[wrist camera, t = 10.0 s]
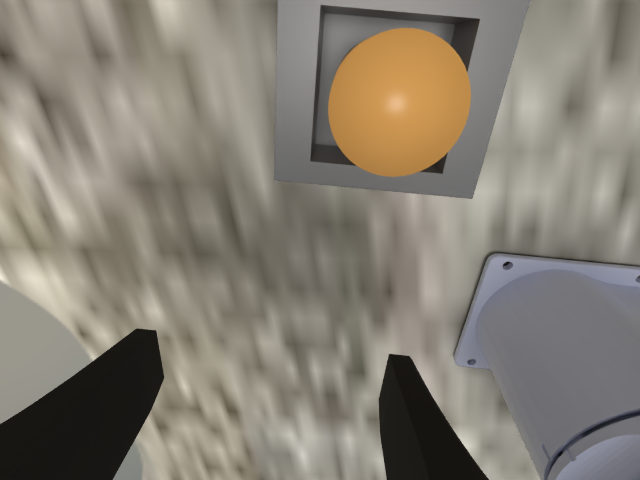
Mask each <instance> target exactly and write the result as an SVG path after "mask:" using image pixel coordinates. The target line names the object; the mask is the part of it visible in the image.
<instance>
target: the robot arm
mask: <svg viewBox="0 0 640 480" xmlns="http://www.w3.org/2000/svg"><path fill="white" fill-rule="evenodd" d="M509 261H510V263H509V264H508V265H506V266H503V264H504V263H505V262H509ZM638 276H640V267H635V266H624V265H614V264H604V263H593V262H583V261H573V260H562V259H552V258H541V257H531V256H521V255H510V254H500V253H497V254H493V255H491V256H489V257H488V259H487V260H486V263H485V266H484V269H483V272H482V275H481V278H480V281H479V284H478V287H477V290H476V293H475V296H474V299H473V302H472V305H471V308H470V310H469V313H468V316H467V319H466V322H465V325H464V328H463V331H462V334H461V337H460V340H459V343H458V346H457V349H456V352H455V355H454V360H455V363H456V364H457V365H458V366H462V367H472V368H481V369H490V370H491V372H492V374H493V376H494V378H495V381H496V383H497V385H498V387H499V389H500V392H501V394H502V396H503V398H504V400H505V402H506V405H507V407H508V409H509V411H510V413H511V415H512V418H513V420H514V422H515V424H516V426H517V428H518V431H519V433H520V435H521V437H522V439H523V442H524V444H525V446H526V448H527V450H528V452H529V455H530V457H531V459H532V461H533V463H534V465H535V468H536V470H537V472H538V474H539V476H540V479H541V480H640V277H638ZM637 277H638V278H637ZM470 359H472V360H470ZM163 379H164V374H163V368H162V362H161V356H160V350H159V344H158V339H157V333H156V331H155V330H145V329H136V330H134V331H133V332H131V333H130V334H129V335H127V336H126V337H125V338H123V339H122V340H121V341H119V342H118V343H117V344H115V345H114V346H113V347H111V348H110V349H109V350H107V351H106V352H105V353H103V354H102V355H101V356H99V357H98V358H97V359H96V360H94V361H93V362H91V363H90V364H89V365H87V366H86V367H85V368H83V369H82V370H81V371H79V372H78V373H77V374H75V375H74V376H72V377H71V378H70V379H68V380H67V381H65V382H64V383H62V384H61V385H59V386H58V387H57V388H55V389H54V390H52V391H51V392H49V393H48V394H46V395H45V396H43V397H42V398H40V399H39V400H38V401H36V402H35V403H33V404H32V405H30V406H29V407H27V408H26V409H24V410H22V411H21V412H19V413H18V414H16V415H14V416H13V417H11V418H10V419H8V420H6V421H5V422H3V423H1V424H0V480H113V478H114V476H115V474H116V472H117V471H118V469H119V467H120V465H121V464H122V462H123V460H124V458H125V456H126V455H127V453H128V451H129V449H130V447H131V445H132V444H133V442H134V440H135V438H136V437H137V435H138V433H139V431H140V429H141V428H142V426H143V424H144V422H145V420H146V418H147V417H148V415H149V413H150V411H151V409H152V406H153V404H154V402H155V399H156V397H157V395H158V392H159V390H160V387H161V384H162V382H163ZM379 418H380V435H381V443H382V449H383V456H384V463H385V470H386V476H387V480H489V479H488V478H487V477H486V475H485V474H484V473H483V471H482V470H481V469H480V467H479V466H478V465H477V463H476V462H475V461H474V459H473V458H472V457H471V455H470V454H469V452H468V451H467V449H466V448H465V447H464V445H463V444H462V442H461V441H460V439H459V438H458V436H457V435H456V433H455V432H454V430H453V429H452V427H451V426H450V424H449V423H448V421H447V420H446V418H445V416H444V415H443V413H442V412H441V410H440V408H439V407H438V405H437V404H436V402H435V400H434V399H433V397H432V395H431V393H430V392H429V390H428V388H427V386H426V385H425V383H424V381H423V379H422V378H421V376H420V374H419V372H418V370H417V368H416V366H415V364H414V362H413V360H412V359H411V358H410V356H404V355H394V354H389V357H388V361H387V366H386V370H385V375H384V379H383V384H382V388H381V392H380V397H379Z"/></svg>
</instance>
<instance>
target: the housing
mask: <svg viewBox="0 0 640 480" xmlns="http://www.w3.org/2000/svg"><path fill="white" fill-rule="evenodd" d="M529 3H530V0H278V21H277V70H276V119H275V167H274V180H278V181H288V182H299V183H310V184H320V185H331V186H341V187H352V188H363V189H373V190H384V191H395V192H405V193H416V194H427V195H437V196H448V197H458V198H469V199H472V198H473V195H474V191H475V188H476V184H477V181H478V178H479V174H480V171H481V167H482V164H483V160H484V157H485V154H486V150H487V147H488V143H489V140H490V136H491V133H492V130H493V126H494V123H495V119H496V116H497V112H498V109H499V106H500V102H501V99H502V95H503V92H504V88H505V85H506V82H507V78H508V75H509V71H510V68H511V64H512V61H513V58H514V54H515V51H516V47H517V44H518V40H519V37H520V34H521V30H522V27H523V23H524V20H525V16H526V13H527V10H528V6H529Z"/></svg>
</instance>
